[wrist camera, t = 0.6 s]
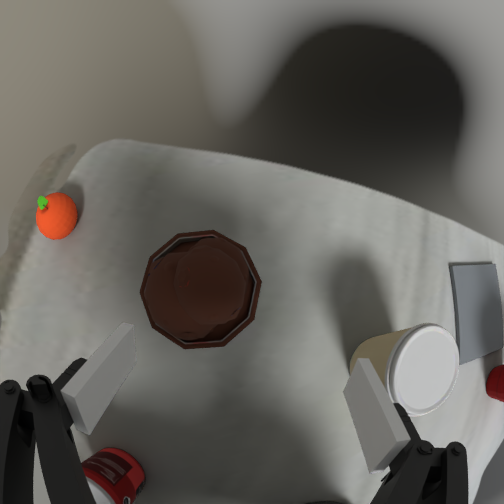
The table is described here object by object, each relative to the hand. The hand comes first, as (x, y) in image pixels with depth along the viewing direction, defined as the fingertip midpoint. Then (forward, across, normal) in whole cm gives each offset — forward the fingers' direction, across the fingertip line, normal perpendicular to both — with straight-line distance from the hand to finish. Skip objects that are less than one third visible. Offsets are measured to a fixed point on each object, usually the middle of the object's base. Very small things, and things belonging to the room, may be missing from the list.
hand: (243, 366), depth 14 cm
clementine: (+22, +30, -1) cm, 37 cm away
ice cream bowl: (+18, +4, +5) cm, 19 cm away
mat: (+19, -40, +2) cm, 44 cm away
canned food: (+4, +14, +28) cm, 31 cm away
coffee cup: (+14, -18, +10) cm, 25 cm away
